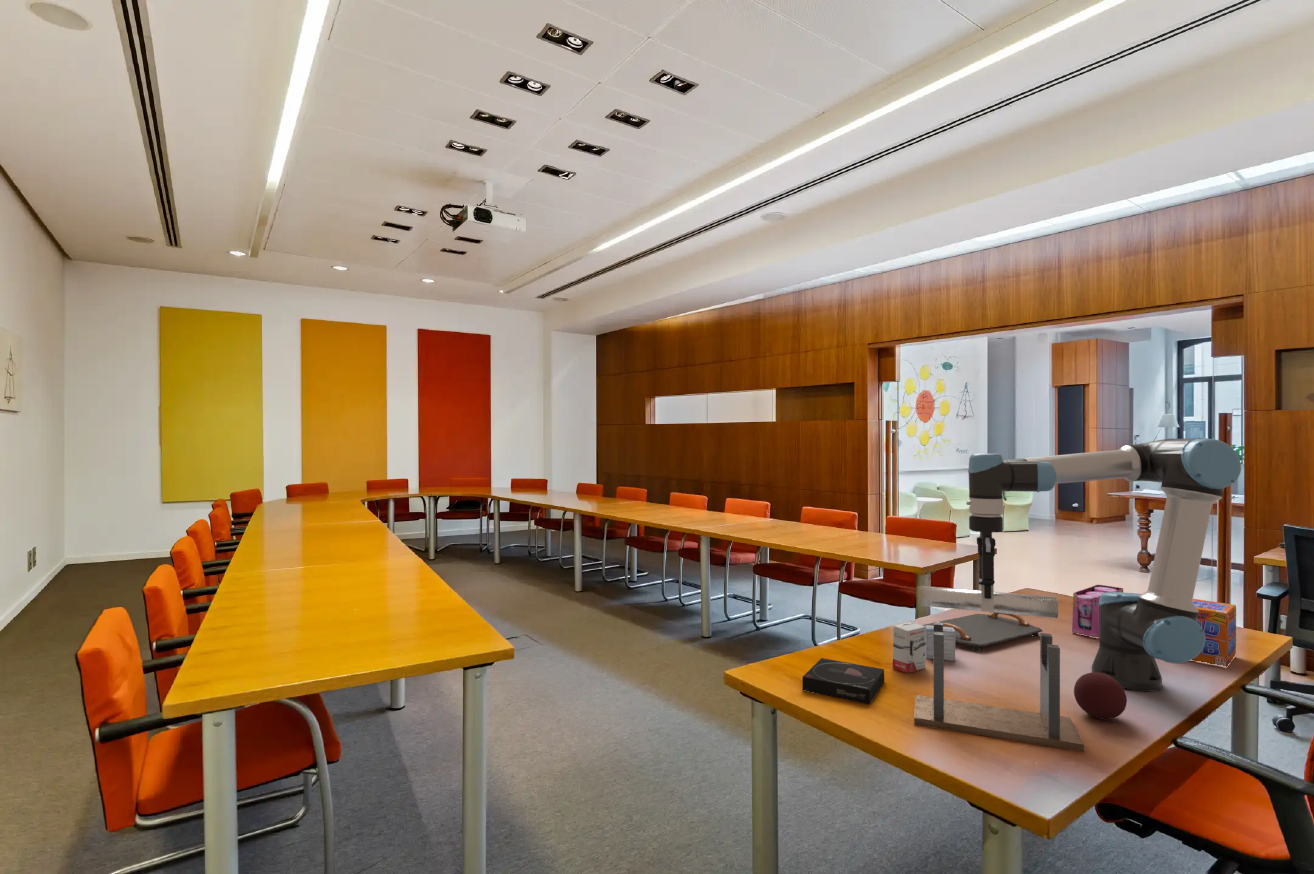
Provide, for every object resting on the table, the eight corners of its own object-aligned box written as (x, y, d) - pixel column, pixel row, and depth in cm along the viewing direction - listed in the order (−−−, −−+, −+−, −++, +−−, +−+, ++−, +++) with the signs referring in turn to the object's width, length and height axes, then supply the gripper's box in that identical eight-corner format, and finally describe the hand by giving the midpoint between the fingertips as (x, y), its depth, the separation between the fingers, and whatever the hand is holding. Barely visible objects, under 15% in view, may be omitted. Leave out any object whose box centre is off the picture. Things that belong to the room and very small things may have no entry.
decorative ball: (1136, 728, 141) (1136, 682, 141) (1086, 725, 143) (1086, 679, 143) (1112, 709, 151) (1112, 667, 151) (1065, 706, 153) (1065, 664, 153)
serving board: (983, 620, 229) (983, 602, 230) (1050, 637, 209) (1050, 618, 209) (910, 635, 210) (910, 616, 210) (976, 656, 190) (976, 635, 190)
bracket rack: (1070, 724, 143) (1070, 634, 143) (1084, 751, 130) (1084, 653, 131) (915, 700, 156) (915, 618, 156) (914, 724, 143) (914, 633, 143)
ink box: (907, 673, 174) (907, 630, 174) (891, 668, 178) (892, 625, 178) (926, 667, 179) (926, 625, 179) (910, 662, 183) (911, 621, 183)
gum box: (1097, 640, 205) (1097, 597, 205) (1069, 634, 211) (1069, 593, 211) (1124, 627, 219) (1124, 587, 219) (1097, 622, 226) (1097, 583, 226)
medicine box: (953, 656, 188) (953, 627, 188) (955, 661, 184) (955, 631, 184) (924, 653, 191) (924, 624, 191) (925, 658, 187) (925, 628, 187)
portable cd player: (884, 683, 168) (884, 668, 168) (869, 706, 154) (869, 689, 154) (822, 671, 177) (822, 657, 177) (802, 692, 162) (802, 676, 162)
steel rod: (1053, 609, 158) (1055, 592, 156) (1057, 622, 154) (1058, 605, 152) (921, 597, 170) (921, 581, 168) (921, 609, 165) (921, 593, 164)
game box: (1158, 655, 191) (1157, 602, 191) (1169, 644, 201) (1169, 594, 201) (1227, 669, 179) (1227, 613, 179) (1236, 657, 189) (1236, 604, 190)
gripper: (967, 510, 171) (967, 598, 170) (971, 518, 154) (972, 615, 154) (999, 512, 168) (999, 601, 168) (1006, 519, 151) (1007, 619, 151)
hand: (986, 608), depth 161 cm, fingers closed on steel rod, 5 cm apart
